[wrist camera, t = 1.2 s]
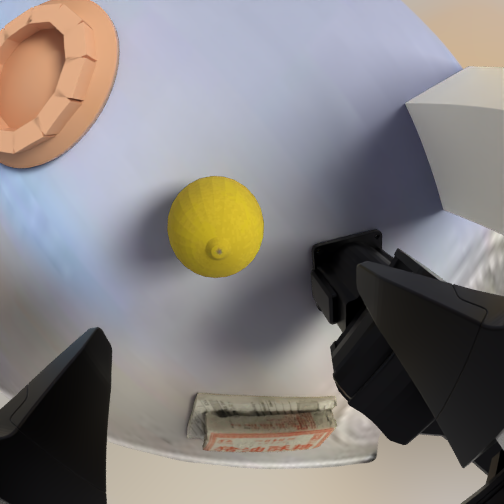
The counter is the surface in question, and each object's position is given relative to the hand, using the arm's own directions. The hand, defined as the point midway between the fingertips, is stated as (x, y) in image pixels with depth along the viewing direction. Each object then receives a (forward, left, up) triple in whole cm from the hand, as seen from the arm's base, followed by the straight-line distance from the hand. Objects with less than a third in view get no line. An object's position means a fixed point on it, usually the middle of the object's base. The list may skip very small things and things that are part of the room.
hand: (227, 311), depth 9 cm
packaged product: (+1, +27, -13) cm, 30 cm away
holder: (+11, -14, -12) cm, 22 cm away
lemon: (0, 0, -13) cm, 13 cm away
